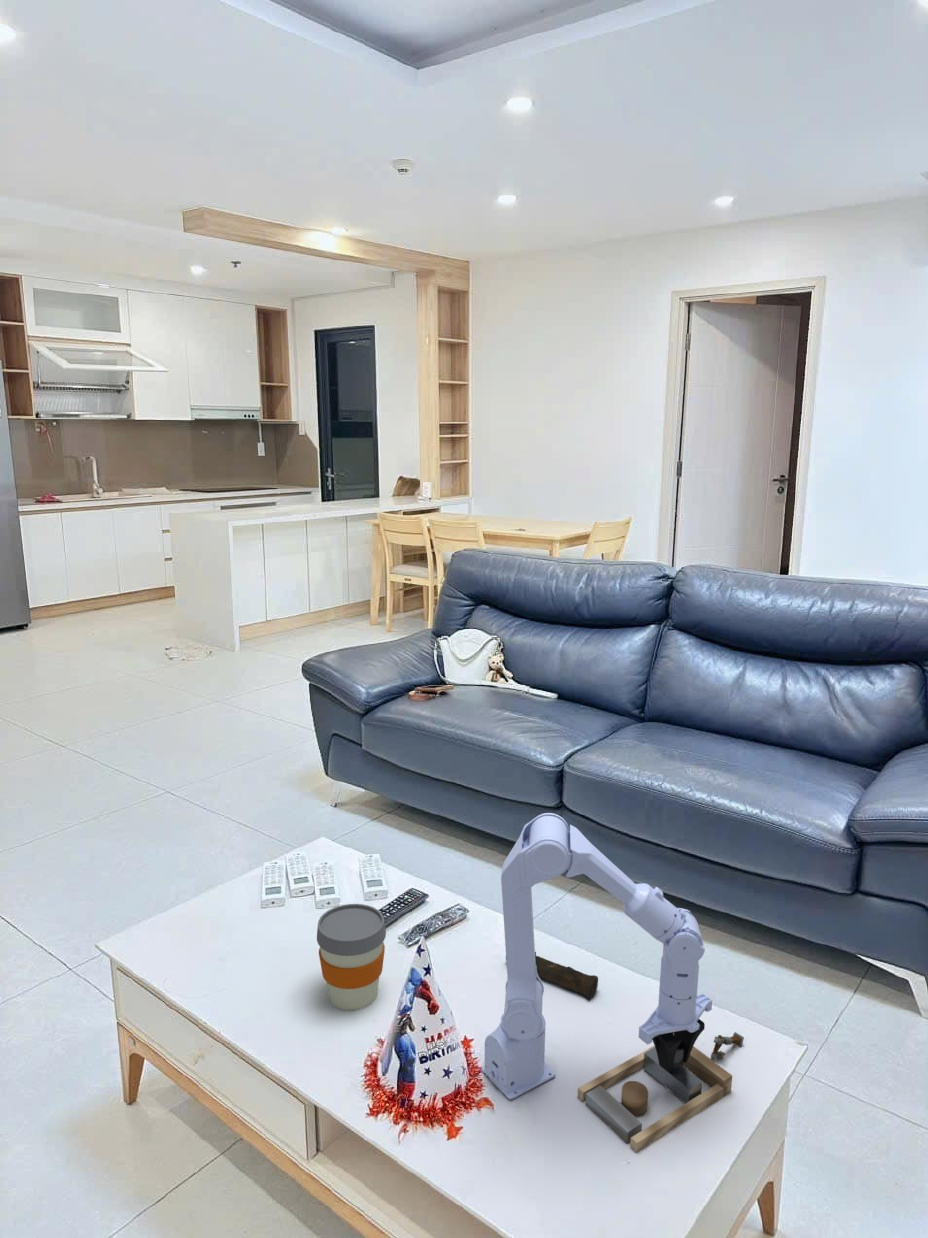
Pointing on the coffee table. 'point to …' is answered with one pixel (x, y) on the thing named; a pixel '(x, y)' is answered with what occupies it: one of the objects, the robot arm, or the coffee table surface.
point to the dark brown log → (567, 977)
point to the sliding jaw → (674, 1075)
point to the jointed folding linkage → (721, 1040)
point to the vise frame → (632, 1127)
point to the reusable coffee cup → (351, 954)
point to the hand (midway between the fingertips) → (673, 1062)
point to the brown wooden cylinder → (635, 1098)
